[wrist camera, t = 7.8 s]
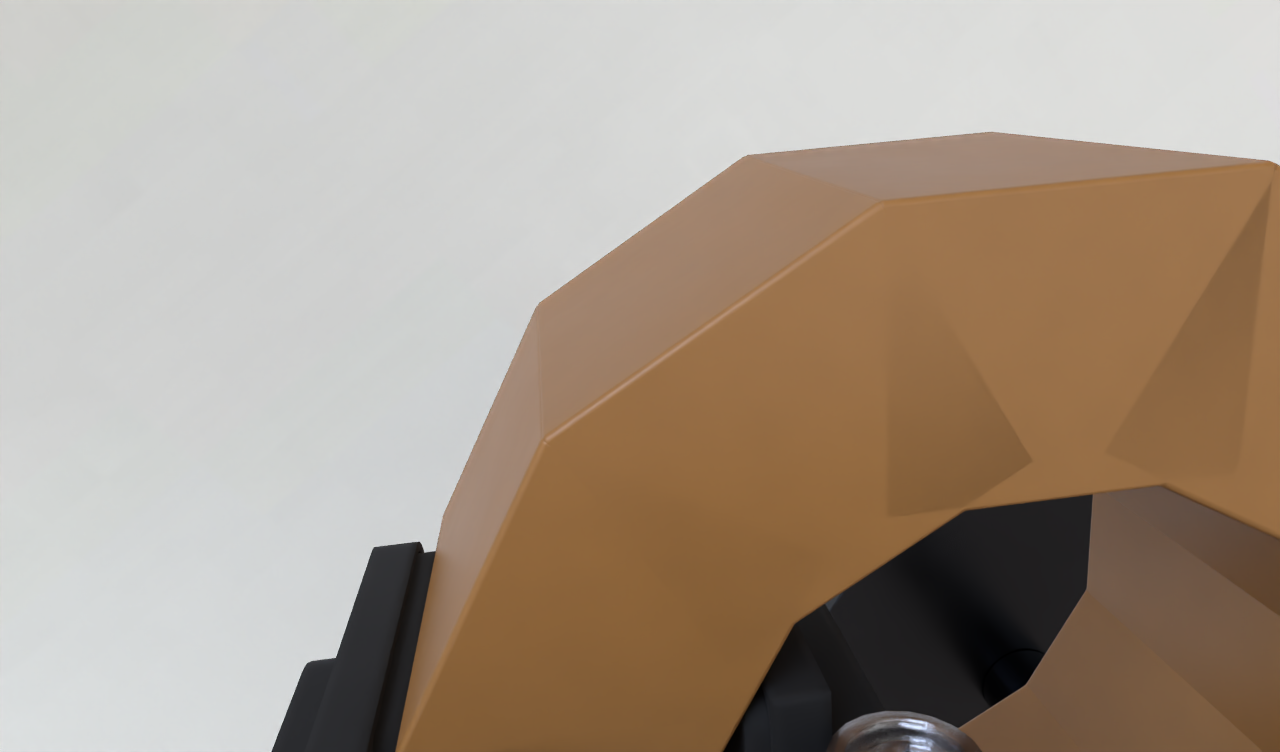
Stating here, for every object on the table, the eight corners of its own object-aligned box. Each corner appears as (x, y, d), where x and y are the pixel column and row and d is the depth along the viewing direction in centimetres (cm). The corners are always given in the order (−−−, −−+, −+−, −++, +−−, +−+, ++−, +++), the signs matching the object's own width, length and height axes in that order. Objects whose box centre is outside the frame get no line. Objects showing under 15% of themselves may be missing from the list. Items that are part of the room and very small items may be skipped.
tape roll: (512, 947, 14) (503, 1329, 10) (389, 188, 11) (294, 260, 6) (1220, 834, 15) (1501, 1139, 11) (1311, 100, 11) (1775, 110, 7)
